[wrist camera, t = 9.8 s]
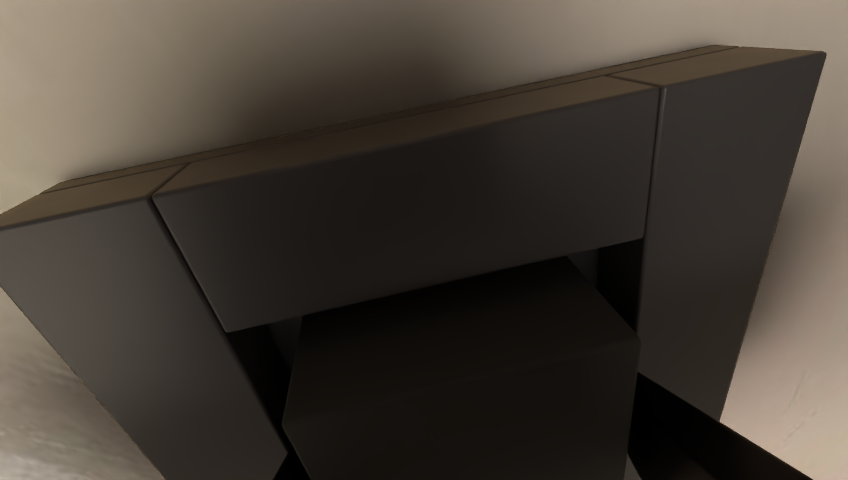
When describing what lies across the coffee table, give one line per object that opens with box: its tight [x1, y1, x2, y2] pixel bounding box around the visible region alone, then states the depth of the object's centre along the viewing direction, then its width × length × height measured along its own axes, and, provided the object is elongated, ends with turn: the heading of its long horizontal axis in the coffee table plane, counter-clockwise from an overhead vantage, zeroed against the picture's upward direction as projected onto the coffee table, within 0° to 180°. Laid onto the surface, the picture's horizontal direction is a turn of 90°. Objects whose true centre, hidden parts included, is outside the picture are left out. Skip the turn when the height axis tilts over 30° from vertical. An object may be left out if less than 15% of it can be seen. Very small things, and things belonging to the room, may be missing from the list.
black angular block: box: [282, 256, 641, 480], centre depth 9 cm, size 6×6×3 cm
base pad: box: [0, 45, 826, 480], centre depth 9 cm, size 12×12×2 cm
